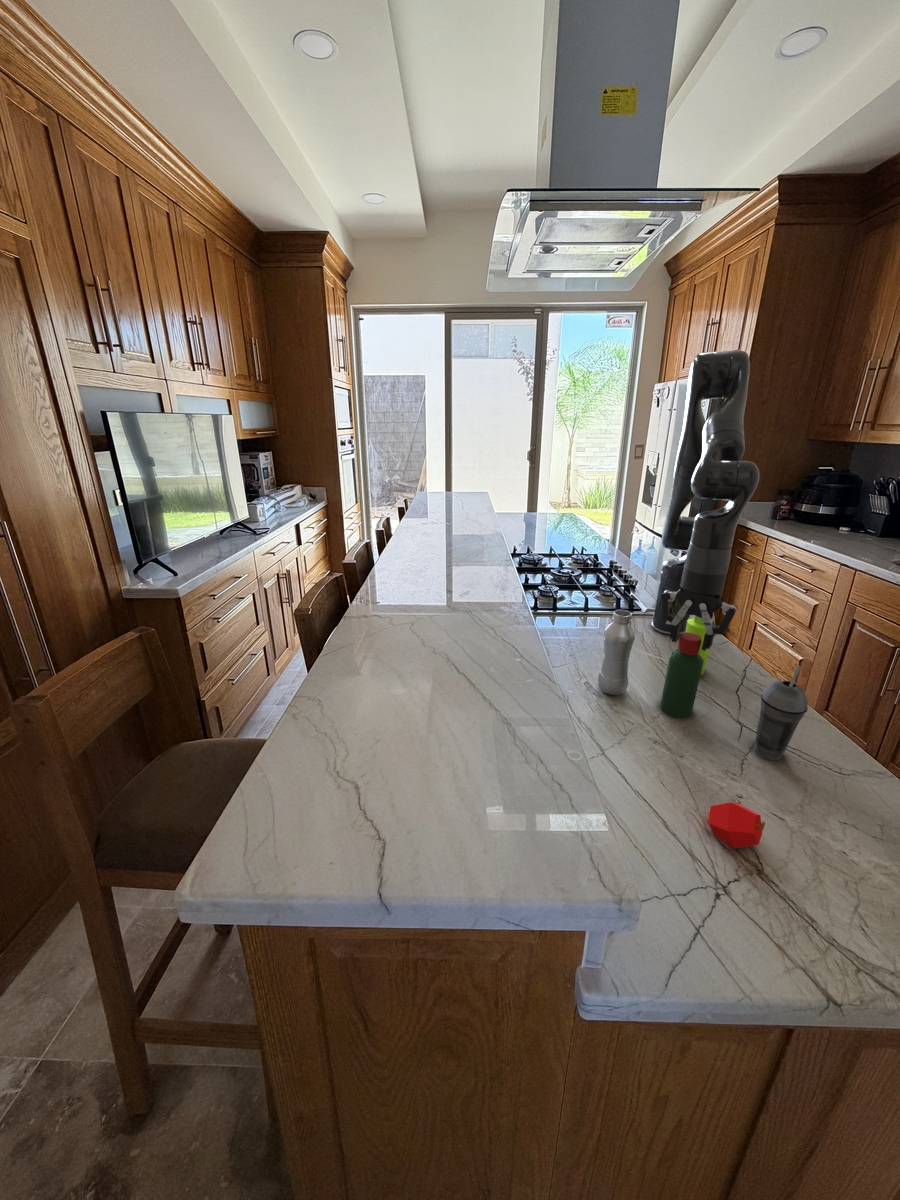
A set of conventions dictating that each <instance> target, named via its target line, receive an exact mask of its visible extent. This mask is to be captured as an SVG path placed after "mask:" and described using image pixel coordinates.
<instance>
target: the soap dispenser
mask: <svg viewBox="0 0 900 1200" xmlns="http://www.w3.org/2000/svg"><path fill="white" fill-rule="evenodd" d="M685 632H689V633H694V634H697V635H699V636H700V637H701V638H702V639H701V645H700V650H699V653H698V654H699V655H700V656H701V657H702V658H703V661H704V662H703V666H702V671H701V675H700V677H702V676H703V675H704V674H705V669H706V665H707V662H708V661H707V660H708V657H709V652H710V648H709V649H706V651H704V650H702V645H703V640H704V636H705V633H706V628H705V625H704V623H703V619H702V618H700V617H697V616H695V615H693V617H692V618H689V619H688V621H687V626H686V631H685Z"/></svg>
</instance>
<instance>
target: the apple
mask: <svg viewBox="0 0 900 1200" xmlns="http://www.w3.org/2000/svg"><path fill="white" fill-rule="evenodd" d="M707 822H708V825H709V827H710V830H711V832H712V835H714V836H715V837H717V838H718V839H719V840H721V841H722V842H724V843H725V844H726V845H728V846H730V847H731V848H733V849H734V850H736V849H742V848H747V847H748V848H749V847H752V846H758V845H760V841H761V839H762V835H763V831H764V828H765V825H766V821H764V820H763V821H762V817H761V815H760V814H759V813H757V812H756V811H754V810H751V809H749V808H748V807H746V806H744V805H742V804H741V803H739V802H731V801H729V802H725V803H720V804H713V805H710V807H709V811H708V821H707Z"/></svg>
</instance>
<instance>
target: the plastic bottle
mask: <svg viewBox="0 0 900 1200" xmlns="http://www.w3.org/2000/svg"><path fill="white" fill-rule="evenodd" d="M632 616H633V614H632V612H631V611H629V610H626V609H616V610H614V611H613V614H612V618H611V621H612V622H611V623H609V624H608V625H607V626H606V627H605V629H604V631H603V659H602V664H601V668H600V671H599V674H598V677H597V685H598V687H599V689H600V690H601V691H602V692H603V693H605V694H607V695H610V696H611V695H612V696H619V695H622V694H624V693H625V692H626V691H627V690H628V686H629V674H628V673H629V661H630V657H631V651H632V648H633V646H634V642H635V639H636V635H635V631H634V629H633V627H632V625H631V623H632Z"/></svg>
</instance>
